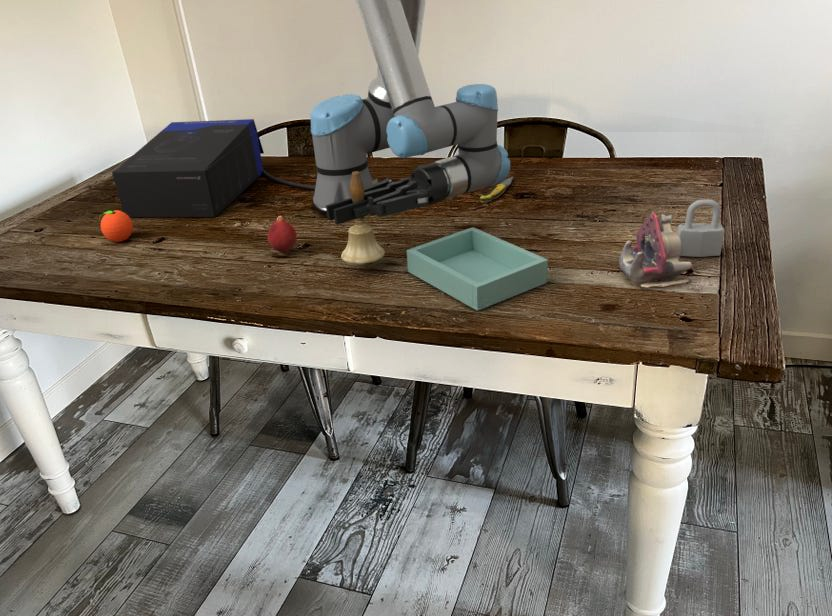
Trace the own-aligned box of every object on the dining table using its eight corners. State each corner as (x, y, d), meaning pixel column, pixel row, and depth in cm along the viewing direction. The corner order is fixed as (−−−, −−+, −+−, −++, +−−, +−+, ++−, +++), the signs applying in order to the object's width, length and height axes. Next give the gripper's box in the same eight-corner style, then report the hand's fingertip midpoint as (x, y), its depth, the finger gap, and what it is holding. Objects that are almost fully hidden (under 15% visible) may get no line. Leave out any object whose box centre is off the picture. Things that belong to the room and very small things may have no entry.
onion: (277, 261, 149) (270, 224, 145) (266, 252, 153) (260, 216, 149) (303, 254, 151) (297, 216, 147) (292, 245, 155) (286, 208, 151)
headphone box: (267, 169, 203) (259, 115, 195) (215, 217, 174) (202, 157, 167) (186, 170, 209) (175, 118, 202) (123, 217, 181) (107, 159, 174)
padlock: (677, 257, 132) (685, 204, 127) (674, 248, 135) (681, 195, 130) (721, 257, 131) (730, 203, 125) (716, 248, 134) (725, 194, 129)
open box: (407, 271, 139) (406, 250, 137) (473, 248, 145) (472, 226, 142) (477, 310, 123) (477, 287, 121) (547, 282, 129) (548, 259, 127)
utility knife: (505, 173, 176) (517, 174, 175) (505, 178, 177) (517, 179, 175) (479, 197, 164) (492, 198, 163) (479, 202, 165) (492, 203, 164)
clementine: (95, 245, 167) (86, 215, 163) (113, 233, 172) (105, 204, 169) (124, 247, 164) (116, 217, 160) (142, 235, 170) (134, 205, 166)
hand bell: (363, 243, 145) (354, 162, 137) (394, 252, 140) (387, 169, 132) (332, 258, 141) (321, 175, 132) (363, 268, 135) (353, 182, 127)
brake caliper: (597, 252, 132) (644, 195, 127) (642, 280, 135) (689, 226, 130) (622, 280, 122) (673, 219, 117) (670, 309, 126) (721, 251, 121)
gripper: (463, 210, 138) (355, 246, 129) (416, 191, 150) (314, 223, 141) (462, 171, 135) (350, 205, 125) (414, 154, 146) (309, 185, 137)
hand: (331, 214), depth 133 cm, fingers closed on hand bell, 2 cm apart
